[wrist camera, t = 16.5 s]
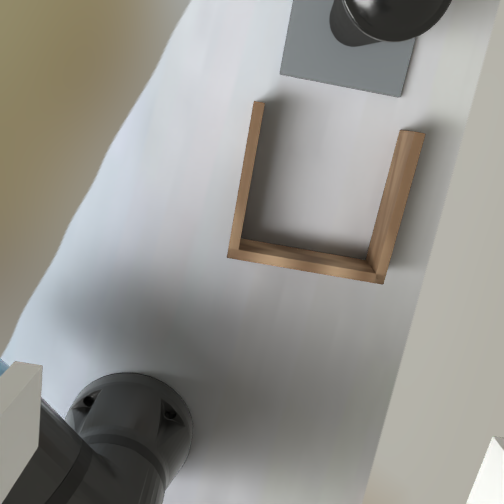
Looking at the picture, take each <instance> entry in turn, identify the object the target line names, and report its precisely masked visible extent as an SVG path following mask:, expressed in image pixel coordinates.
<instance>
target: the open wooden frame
mask: <svg viewBox="0 0 504 504" xmlns="http://www.w3.org/2000/svg"><path fill="white" fill-rule="evenodd" d="M264 105H265V103H262V102H257V101H254V104H253V109H252V115H251V121H250V127H249V133H248V138H247V144H246V150H245V156H244V161H243V167H242V173H241V179H240V185H239V190H238V196H237V202H236V208H235V213H234V219H233V225H232V231H231V237H230V242H229V248H228V254H227V258H232V259H238V260H243V261H249V262H255V263H261V264H267V265H272V266H278V267H284V268H290V269H296V270H301V271H307V272H313V273H319V274H325V275H331V276H336V277H342V278H348V279H354V280H360V281H365V282H371V283H377V284H384V280H385V276H386V273H387V269H388V266H389V262H390V259H391V255H392V252H393V248H394V244H395V241H396V237H397V234H398V230H399V227H400V223H401V220H402V216H403V212H404V209H405V205H406V202H407V198H408V195H409V191H410V188H411V184H412V180H413V177H414V173H415V170H416V166H417V163H418V159H419V156H420V152H421V148H422V145H423V141H424V138H425V133H419V132H413V131H404V130H400V132H399V135H398V139H397V143H396V147H395V150H394V154H393V158H392V162H391V166H390V169H389V173H388V177H387V181H386V184H385V188H384V192H383V196H382V200H381V203H380V207H379V211H378V215H377V218H376V222H375V226H374V230H373V234H372V237H371V241H370V245H369V249H368V252H367V256H366V260H362V259H357V258H351V257H345V256H340V255H334V254H328V253H322V252H317V251H311V250H305V249H299V248H294V247H288V246H282V245H277V244H271V243H265V242H259V241H254V240H248V239H242V238H241V233H242V228H243V222H244V216H245V211H246V205H247V200H248V194H249V189H250V183H251V178H252V172H253V166H254V161H255V155H256V150H257V144H258V139H259V133H260V128H261V122H262V116H263V111H264Z"/></svg>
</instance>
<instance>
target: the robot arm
mask: <svg viewBox="0 0 504 504" xmlns="http://www.w3.org/2000/svg"><path fill="white" fill-rule="evenodd" d="M42 370H43V366H42V365H36V364H29V363H23V362H17V361H15V362H14V363H13V364H12V365H11V366H10V367H9V366H8V365H7V364H6V363H5V362H4V361H3V360H2V359H0V504H162V503H163V498H164V493H165V490H166V489H167V487H168V486H169V485H170V483H171V482H172V480H173V479H174V477H175V476H176V475H177V473H178V472H179V470H180V469H181V468H182V466H183V464H184V463H185V461H186V459H187V456H188V454H189V450H190V446H191V440H192V434H193V424H192V419H191V415H190V412H189V410H188V408H187V406H186V404H185V403H184V401H183V400H182V398H181V397H180V396H179V395H178V394H177V393H176V392H175V391H174V390H173V389H171V388H170V387H169V386H167V385H166V384H164V383H162V382H161V381H159V380H157V379H154V378H152V377H148V376H145V375H141V374H134V373H119V374H113V375H108V376H105V377H102V378H100V379H97V380H96V381H94V382H92V383H91V384H89V385H88V386H86V387H85V388H84V389H83V390H82V391H81V392H80V393H79V395H78V396H77V398H76V399H75V401H74V402H73V404H72V406H71V407H70V409H69V411H68V413H67V415H66V418H65V421H64V420H63V419H62V418H61V417H60V415H59V414H58V413H57V412H56V411H55V410H54V409H53V408H52V407H51V406H50V405H49V404H48V403H47V402H46V401H45V400H44V399H43V398H42V397H41V388H42ZM466 504H504V438H502V437H495V436H493V437H492V440H491V442H490V445H489V447H488V450H487V452H486V455H485V457H484V460H483V462H482V465H481V467H480V470H479V472H478V475H477V478H476V480H475V483H474V485H473V488H472V490H471V493H470V495H469V498H468V500H467V503H466Z"/></svg>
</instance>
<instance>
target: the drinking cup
mask: <svg viewBox="0 0 504 504" xmlns="http://www.w3.org/2000/svg"><path fill="white" fill-rule="evenodd" d="M451 1H452V0H334V2H333V5H332V8H331V12H330V17H329V23H330V28H331V31H332V34H333V35H334V37H335V38H336V39H337V40H338V41H339V42H340V43H342V44H343V45H346V46H350V47H357V46H363V45H368V44H372V43H377V42H382V41H383V42H402V41H407V40H410V39H413V38H415V37H417V36H419V35H421V34H423V33H425V32H426V31H427V30H429V29H430V28H431V27H433V26H434V25H435V24H436V23H437V22H438V21H439V20H440V18H441V17H442V16H443V15H444V13H445V12H446V10H447V9H448V7H449V5H450V3H451Z"/></svg>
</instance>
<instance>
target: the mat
mask: <svg viewBox="0 0 504 504" xmlns="http://www.w3.org/2000/svg"><path fill="white" fill-rule="evenodd" d="M333 2H334V0H293V4H292V9H291V15H290V20H289V25H288V31H287V36H286V42H285V47H284V52H283V58H282V63H281V68H280V75H286V76H291V77H296V78H301V79H306V80H311V81H316V82H322V83H327V84H332V85H337V86H342V87H347V88H353V89H358V90H363V91H368V92H373V93H378V94H383V95H389V96H394V97H400V96H401V92H402V88H403V84H404V81H405V77H406V73H407V69H408V65H409V61H410V57H411V54H412V50H413V46H414V42H415V38H416V37H415V38H413V39H410V40H407V41H402V42H383V41H382V42H377V43H372V44H368V45H363V46H357V47H350V46H346V45H343V44H342V43H340V42H339V41H338V40H337V39H336V38H335V37H334V35H333V34H332V31H331V28H330V23H329V17H330V12H331V8H332V5H333Z"/></svg>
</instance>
